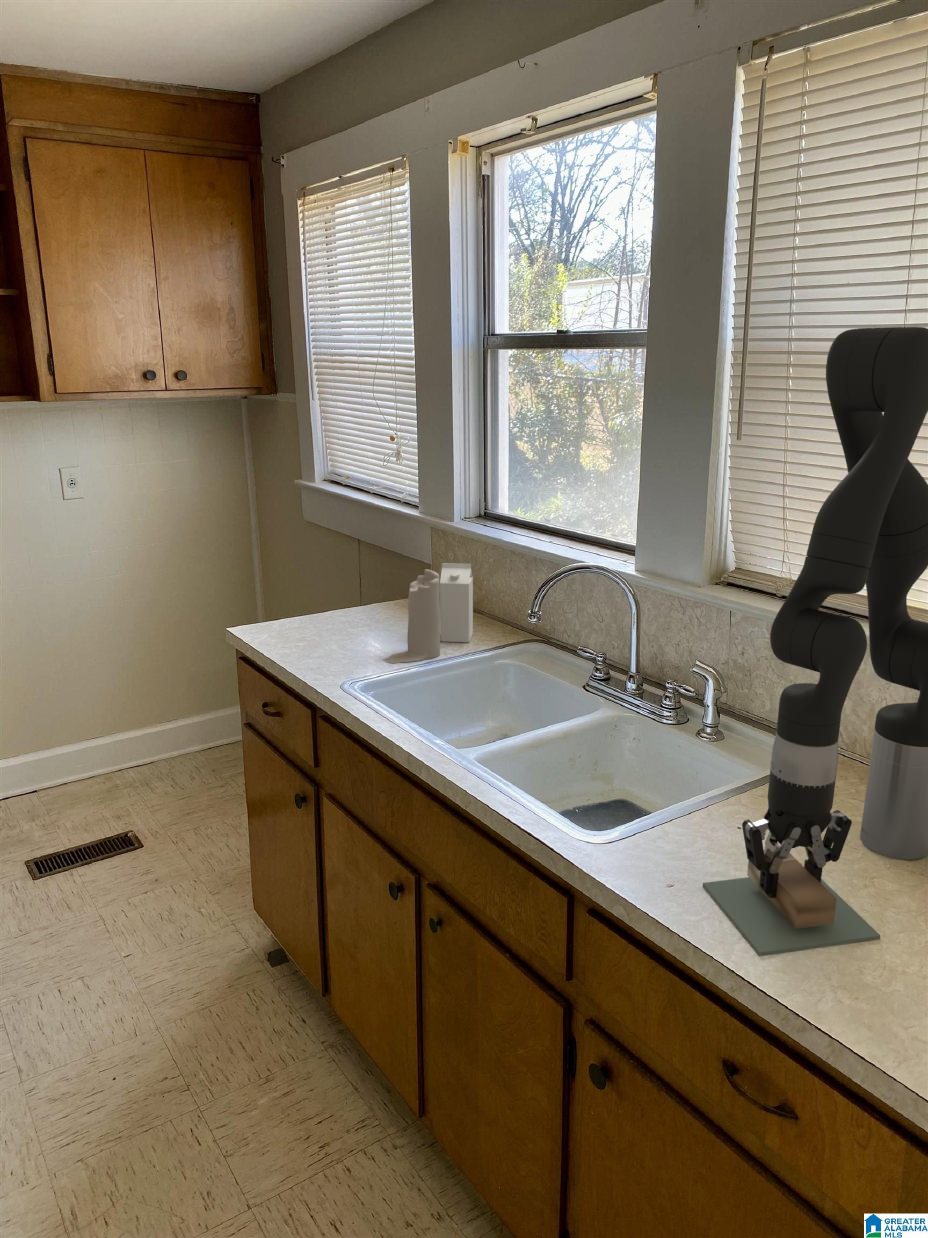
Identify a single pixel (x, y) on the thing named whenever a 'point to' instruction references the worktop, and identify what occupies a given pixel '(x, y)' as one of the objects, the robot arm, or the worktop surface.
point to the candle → (422, 620)
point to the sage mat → (783, 920)
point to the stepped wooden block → (799, 895)
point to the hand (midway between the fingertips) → (789, 891)
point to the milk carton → (456, 602)
